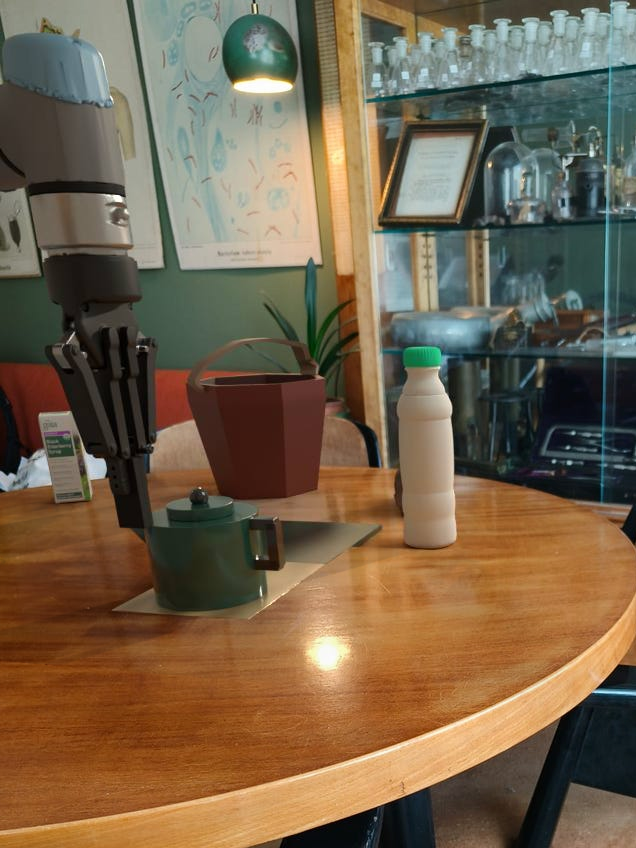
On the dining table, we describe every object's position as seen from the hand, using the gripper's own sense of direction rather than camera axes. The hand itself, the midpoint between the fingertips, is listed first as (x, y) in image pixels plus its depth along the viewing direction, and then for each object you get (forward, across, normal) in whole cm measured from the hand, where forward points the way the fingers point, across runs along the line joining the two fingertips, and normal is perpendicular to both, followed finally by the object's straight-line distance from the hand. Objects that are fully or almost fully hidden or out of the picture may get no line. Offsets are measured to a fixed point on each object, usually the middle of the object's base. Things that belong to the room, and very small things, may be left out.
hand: (136, 526), depth 83 cm
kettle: (+11, +12, 0) cm, 16 cm away
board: (+11, +25, 0) cm, 27 cm away
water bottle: (+12, +39, -17) cm, 44 cm away
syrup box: (+11, +57, +52) cm, 78 cm away
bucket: (+11, +69, +21) cm, 73 cm away
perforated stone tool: (+11, +59, -8) cm, 60 cm away
